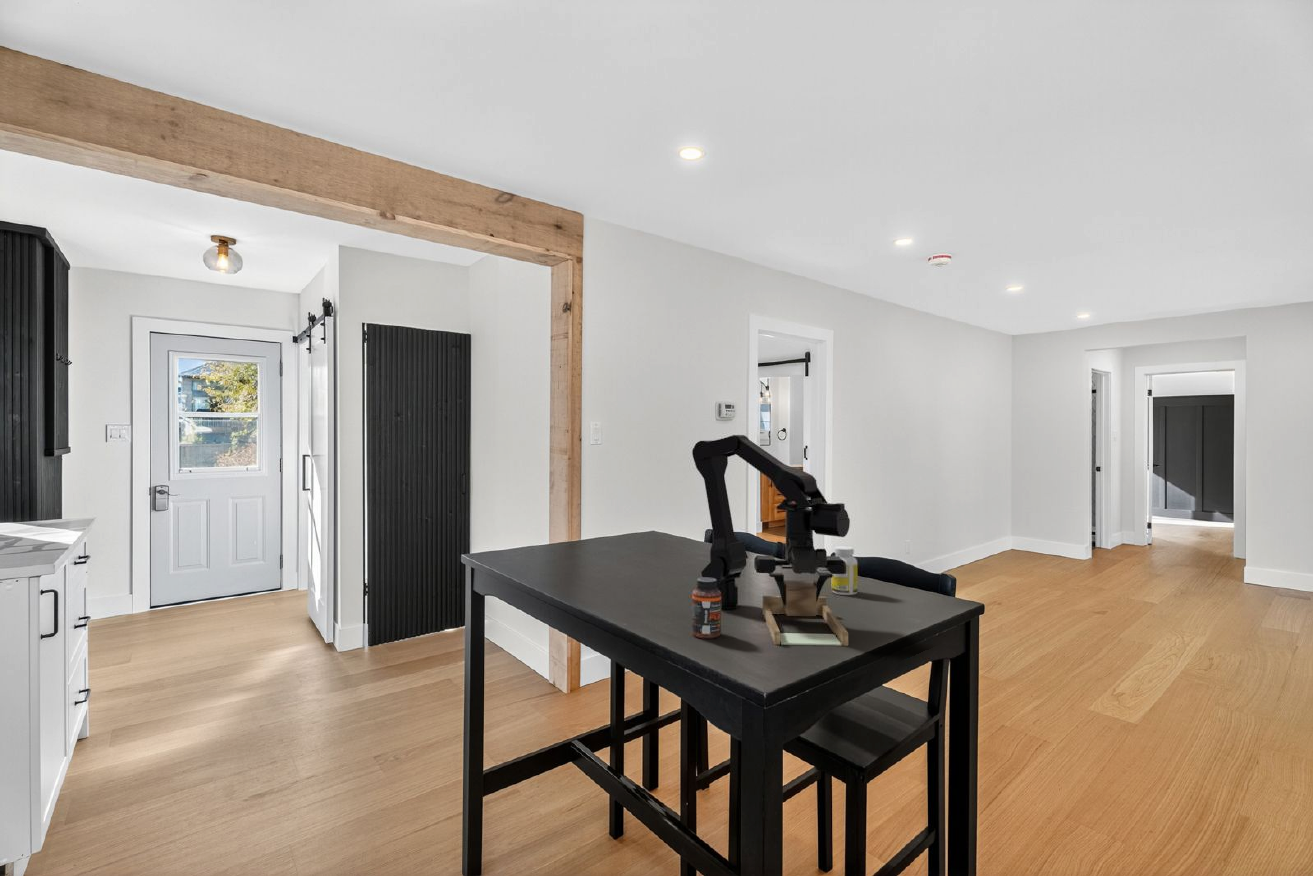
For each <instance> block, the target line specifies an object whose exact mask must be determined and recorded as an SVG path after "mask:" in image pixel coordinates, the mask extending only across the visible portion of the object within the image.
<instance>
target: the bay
mask: <svg viewBox="0 0 1313 876" xmlns="http://www.w3.org/2000/svg"><path fill="white" fill-rule="evenodd" d="M772 614H778V615H777V616H780V615H779V614H786V612H785V610H784V608H783V602H782V599H781V595H762V615H764V616H763V618H764V620H766V621H765V623H766V625H767V628H769V629H768V631H769V634H770V633H771V634H770V636H771V639H772V641H774V642H773V643H774V644H773V645H780V644H781V642H780V633H781V632H780V631H781V630H780V629H779V627H778V624H777V622H776V619H775V617H774V615H772ZM816 615H819V617H820V616H821V617H822V618H823V619H824V622H825V623H826V624H827V625H828V627H829V628H830V630H831V631H832V633H833V634H835V636H837V639H838V640H839V641H840V643H841V646H845V647H847V646H849V632H848V631H847V629H846V628H845V627H844V626H843V624H842V623H841V622H840V620H839V619H838V618H837V616H836V615H835V614H834V613H833V612H832V610H831V609H830V608H829V606H828V605H827V597H826V596H819V597H818V600H817V603H816ZM785 616H787V614H786V615H785Z"/></svg>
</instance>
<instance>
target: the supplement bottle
mask: <svg viewBox="0 0 1313 876" xmlns="http://www.w3.org/2000/svg"><path fill="white" fill-rule="evenodd" d="M716 586H717V580H716V579H715V578H708V577H703V578H702V577H699V578H697V579H696V588H695V589H693V591H692V597H691V600H692V601H691V603H692V604H691V605H692V606H691V633H692V635H693V636H694V637H696V638H700V639H704V640H705V639H707V640H708V639H714V638H715V639H716V638H718V637H720V636H721V633H722V609H721V592H720V590H718V588H717V587H716Z"/></svg>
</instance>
